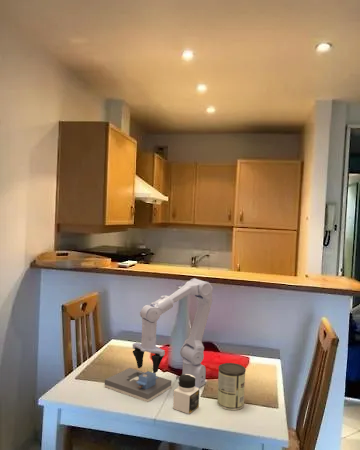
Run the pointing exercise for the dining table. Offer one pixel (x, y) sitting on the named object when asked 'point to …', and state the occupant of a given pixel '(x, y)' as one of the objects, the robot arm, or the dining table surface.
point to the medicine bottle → (186, 394)
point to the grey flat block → (136, 385)
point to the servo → (147, 380)
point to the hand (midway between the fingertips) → (147, 369)
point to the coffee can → (231, 386)
